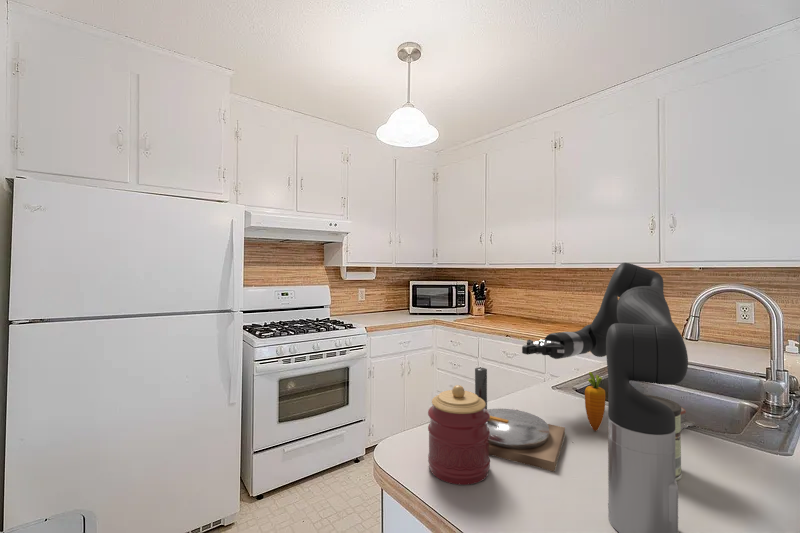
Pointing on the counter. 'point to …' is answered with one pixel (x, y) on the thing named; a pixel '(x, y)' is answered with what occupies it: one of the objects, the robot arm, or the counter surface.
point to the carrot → (595, 402)
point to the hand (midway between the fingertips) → (524, 350)
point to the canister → (459, 437)
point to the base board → (535, 451)
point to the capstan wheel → (511, 422)
